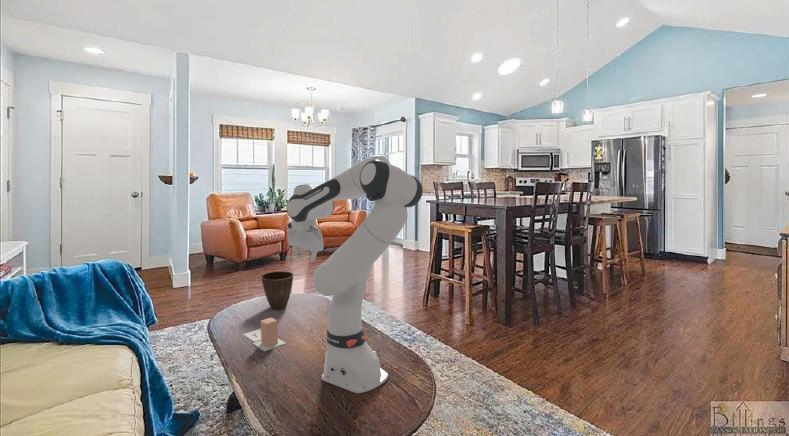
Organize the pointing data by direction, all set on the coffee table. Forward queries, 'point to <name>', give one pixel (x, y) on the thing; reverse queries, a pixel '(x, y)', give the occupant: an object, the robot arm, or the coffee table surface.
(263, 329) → the block
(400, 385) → the coffee table surface
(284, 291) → the plant pot
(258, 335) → the tile
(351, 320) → the robot arm
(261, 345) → the coaster
